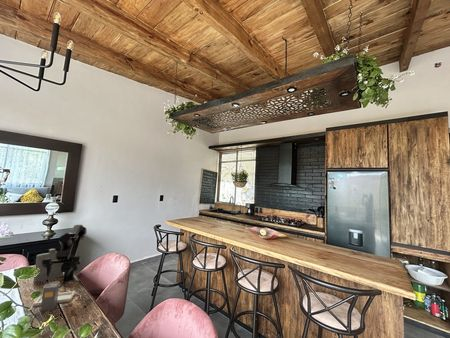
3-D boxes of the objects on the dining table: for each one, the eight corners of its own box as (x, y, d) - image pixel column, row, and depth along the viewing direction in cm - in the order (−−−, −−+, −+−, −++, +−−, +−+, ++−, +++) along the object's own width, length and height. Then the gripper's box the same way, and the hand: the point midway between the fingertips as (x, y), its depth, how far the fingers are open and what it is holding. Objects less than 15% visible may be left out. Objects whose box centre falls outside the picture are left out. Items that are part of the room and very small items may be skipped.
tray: (40, 298, 118) (40, 295, 118) (74, 293, 125) (75, 290, 125) (33, 306, 110) (33, 303, 110) (70, 301, 117) (70, 298, 117)
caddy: (44, 305, 112) (47, 282, 113) (56, 303, 114) (59, 281, 115) (40, 311, 107) (43, 287, 108) (53, 309, 109) (56, 285, 110)
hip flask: (33, 283, 134) (37, 252, 136) (32, 280, 137) (36, 250, 139) (63, 276, 146) (66, 247, 148) (62, 274, 149) (65, 246, 150)
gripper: (44, 245, 121) (33, 271, 110) (81, 243, 129) (74, 268, 118) (48, 254, 128) (38, 280, 117) (83, 251, 135) (76, 276, 124)
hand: (57, 275), depth 119 cm, fingers open, 9 cm apart
